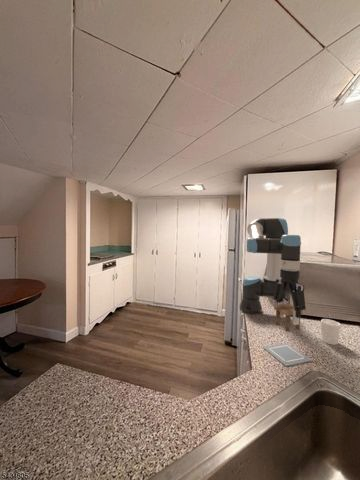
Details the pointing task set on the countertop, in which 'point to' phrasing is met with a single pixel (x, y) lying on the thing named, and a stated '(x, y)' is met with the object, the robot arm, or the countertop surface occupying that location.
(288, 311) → the stool
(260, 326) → the countertop surface
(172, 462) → the countertop surface
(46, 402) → the countertop surface
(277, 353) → the mat
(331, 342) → the white cup
